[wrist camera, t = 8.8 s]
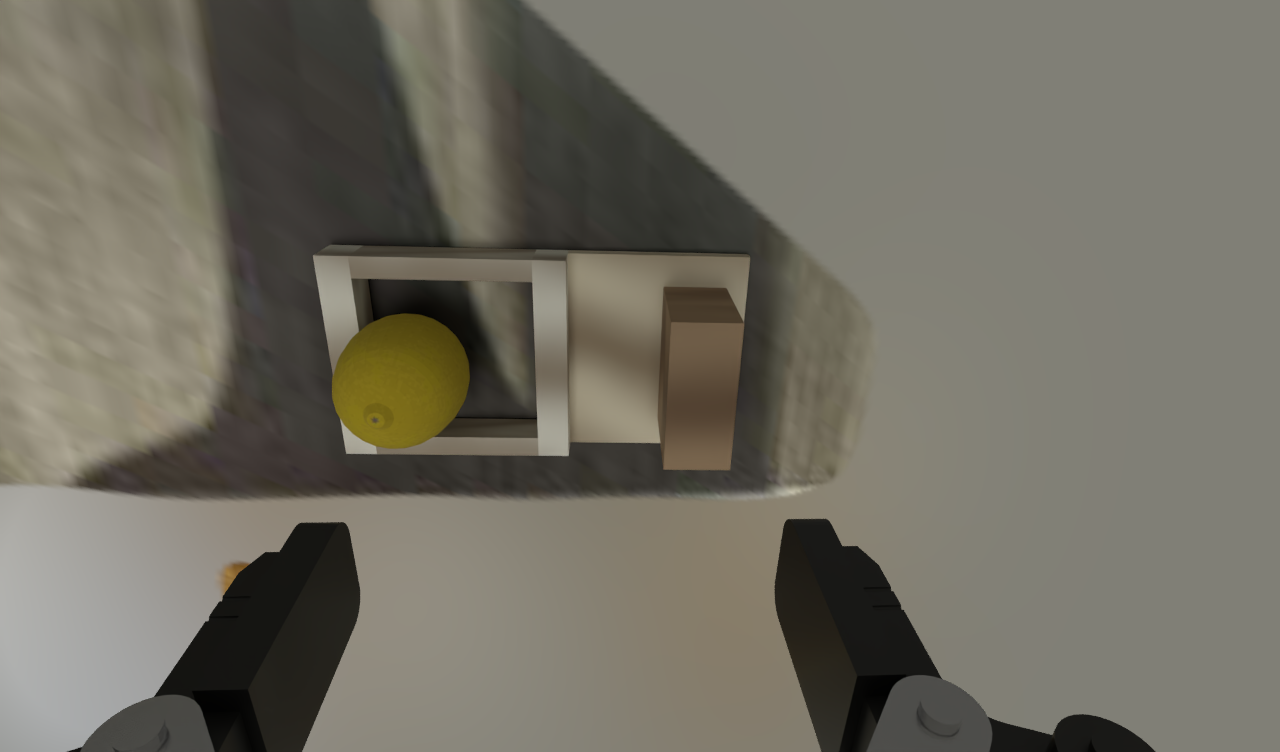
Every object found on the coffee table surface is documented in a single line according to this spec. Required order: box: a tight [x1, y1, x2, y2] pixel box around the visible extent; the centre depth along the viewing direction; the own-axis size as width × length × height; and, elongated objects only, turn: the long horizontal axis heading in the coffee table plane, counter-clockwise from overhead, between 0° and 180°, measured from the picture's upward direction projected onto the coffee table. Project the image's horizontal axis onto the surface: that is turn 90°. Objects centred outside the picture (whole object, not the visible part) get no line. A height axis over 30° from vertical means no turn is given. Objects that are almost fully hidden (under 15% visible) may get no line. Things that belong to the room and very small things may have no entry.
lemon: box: [332, 313, 470, 449], centre depth 30 cm, size 6×6×8 cm
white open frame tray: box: [313, 245, 750, 470], centre depth 31 cm, size 10×20×6 cm, turn 88°
